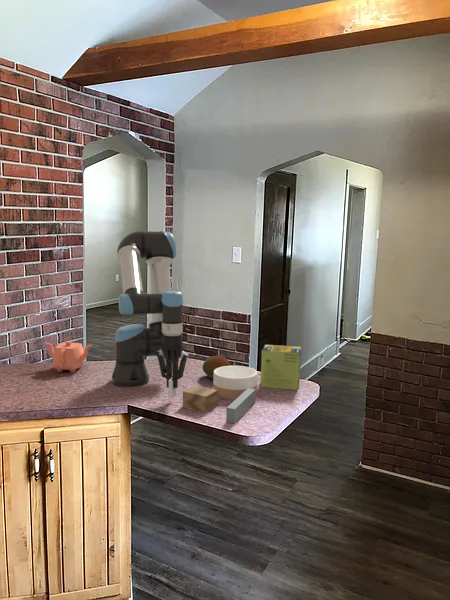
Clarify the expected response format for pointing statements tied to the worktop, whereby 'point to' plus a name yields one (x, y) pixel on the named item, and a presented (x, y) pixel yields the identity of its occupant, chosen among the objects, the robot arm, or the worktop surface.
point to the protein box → (280, 367)
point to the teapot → (68, 355)
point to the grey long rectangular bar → (240, 405)
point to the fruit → (214, 364)
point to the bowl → (234, 380)
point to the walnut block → (200, 398)
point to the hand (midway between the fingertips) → (172, 396)
